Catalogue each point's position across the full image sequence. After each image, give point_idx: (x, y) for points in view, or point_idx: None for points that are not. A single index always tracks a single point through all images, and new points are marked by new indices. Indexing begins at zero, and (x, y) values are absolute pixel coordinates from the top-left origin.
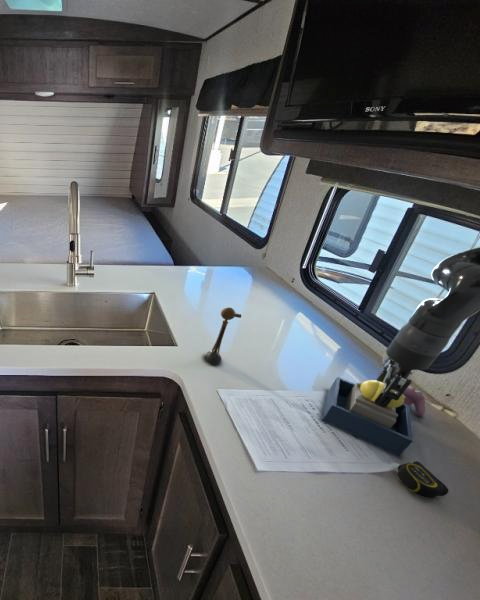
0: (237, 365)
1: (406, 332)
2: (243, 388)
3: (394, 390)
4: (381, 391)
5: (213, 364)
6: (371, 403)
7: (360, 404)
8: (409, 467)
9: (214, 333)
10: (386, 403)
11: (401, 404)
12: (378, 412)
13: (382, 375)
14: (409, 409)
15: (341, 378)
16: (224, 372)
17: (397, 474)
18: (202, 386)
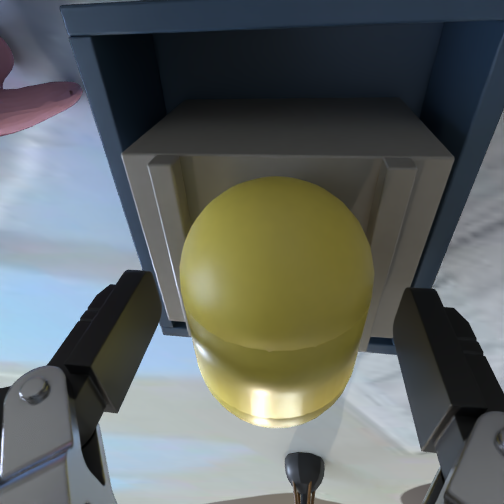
0: (280, 432)
1: None
2: (369, 422)
3: (292, 354)
4: (427, 448)
5: (322, 462)
6: None
7: (384, 321)
8: None
9: (194, 459)
10: (479, 349)
11: (335, 206)
12: (408, 251)
13: (121, 390)
14: (110, 8)
15: (161, 324)
16: (333, 446)
17: None
18: (420, 468)
